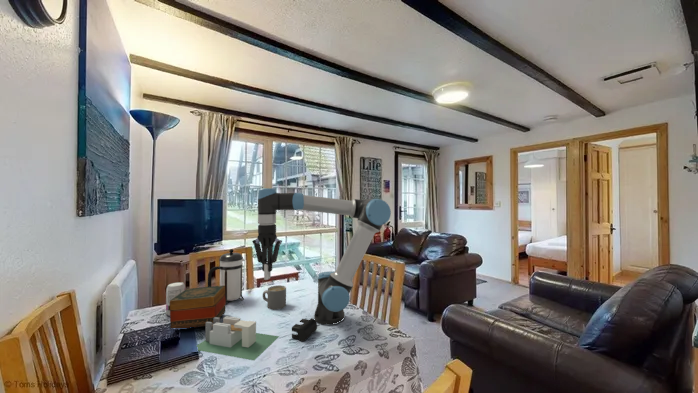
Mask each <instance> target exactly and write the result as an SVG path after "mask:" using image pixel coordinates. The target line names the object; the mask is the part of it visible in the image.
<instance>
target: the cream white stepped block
mask: <svg viewBox="0 0 698 393" xmlns="http://www.w3.org/2000/svg"><path fill="white" fill-rule="evenodd" d="M234 327H235V328H241V329H242V347H248V348H249V347H250V346H251V345H252V344H253V343H254V342H256V333H257V322H256V321H254V320H242V319H240V321H239V322H237V323H236V324H234Z"/></svg>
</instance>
